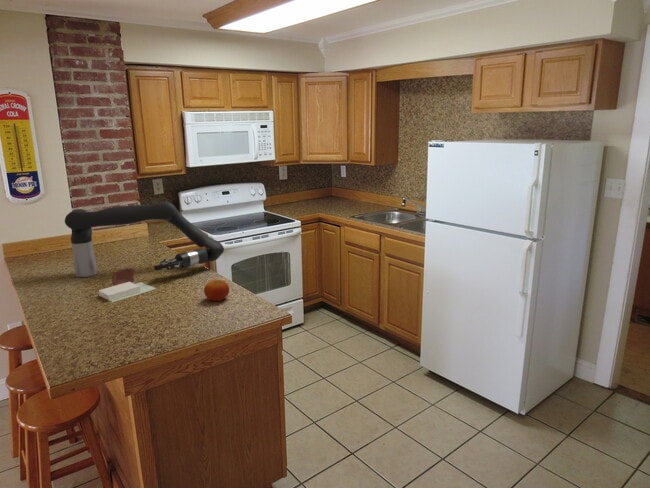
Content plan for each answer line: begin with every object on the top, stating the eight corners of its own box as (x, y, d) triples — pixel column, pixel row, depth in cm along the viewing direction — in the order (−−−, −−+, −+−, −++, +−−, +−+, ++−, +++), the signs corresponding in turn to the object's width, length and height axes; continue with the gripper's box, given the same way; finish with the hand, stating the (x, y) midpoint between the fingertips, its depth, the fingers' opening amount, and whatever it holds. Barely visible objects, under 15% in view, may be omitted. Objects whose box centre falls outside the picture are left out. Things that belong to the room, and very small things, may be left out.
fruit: (203, 296, 200) (201, 279, 198) (227, 293, 204) (226, 275, 201) (206, 305, 190) (204, 287, 188) (232, 301, 194) (230, 283, 192)
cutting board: (141, 283, 219) (141, 282, 219) (156, 289, 210) (156, 288, 210) (98, 295, 205) (98, 294, 205) (112, 303, 196) (112, 302, 196)
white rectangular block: (129, 281, 212) (98, 290, 202) (140, 286, 206) (108, 295, 196) (130, 286, 213) (99, 295, 203) (140, 291, 207) (109, 301, 197)
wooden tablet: (135, 284, 219) (135, 281, 219) (112, 288, 216) (112, 284, 215) (135, 269, 243) (134, 265, 243) (114, 271, 240) (114, 268, 239)
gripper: (179, 249, 231) (146, 258, 218) (193, 254, 222) (160, 263, 210) (180, 264, 233) (148, 273, 220) (195, 268, 224) (162, 278, 212)
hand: (154, 268), depth 215 cm, fingers closed
